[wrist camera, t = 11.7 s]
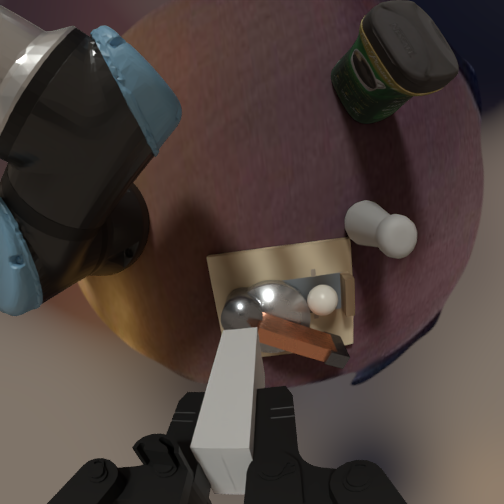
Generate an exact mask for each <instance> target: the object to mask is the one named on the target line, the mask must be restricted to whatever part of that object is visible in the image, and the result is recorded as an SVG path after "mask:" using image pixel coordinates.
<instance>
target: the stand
mask: <svg viewBox="0 0 504 504" xmlns="http://www.w3.org/2000/svg"><path fill="white" fill-rule="evenodd" d="M206 258H207V263H208V268H209V274H210V279H211V284H212V289H213V294H214V299H215V304H216V309H217V314H218V319H219V324H220V328H221V333H222V332H223V330H224V329H223V327H222V324H221V314H222V311H223V308H224V305H225V302H226V299H227V297H228V295H229V294H230V292H232V291H233V290H234V289H236V288H240V287H248V288H249V287H250V286H252V285H254V284H256V283H258V282H261V281H265V280H280V281H284V282H287V283H289V284H291V285H293V286H295V287H296V288H297V289H298V290H299V291H300V292H301V293H302V294H303V295H304V297H305V299H306V301H307V297H308V294H309V292H310V291H311V290H312V289H313V288H314V287H316V286H318V285H328V286H330V287H332V288H333V289H334V290H335V291H336V293H337V296H338V304H337V307H336V308H335V310H334V311H333V312H332V313H330V314H328V315H325V316H320V315H316V314H314V313H313V312H312V311H311V310H310V309H309V310H310V315H311V321H310V326H309V328H312V329H315V330H318V331H321V332H324V331H325V332H329V333H332V334H335V335H338V336H340V337H341V339H342V341H343V343H344V345H349V344H353V316H354V315H355V287H354V277H353V276H352V259H351V243H350V238H348V237H345V238H337V239H329V240H321V241H314V242H306V243H298V244H290V245H283V246H275V247H267V248H260V249H252V250H244V251H237V252H229V253H222V254H214V255H208V256H207V257H206ZM307 304H308V303H307ZM291 353H292V352H289V351H283V352H278V353H265V352H261V355H262V357H265V356H274V355H283V354H291Z"/></svg>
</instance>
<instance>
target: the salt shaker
mask: <svg viewBox="0 0 504 504" xmlns="http://www.w3.org/2000/svg"><path fill="white" fill-rule="evenodd" d="M345 230H346V232H347V234H348V236H349V238H350V239H351V240H353V241H354V242H355V243H356V244H359V245H365V246H373V247H379V249H380V250H381V251H382V252H383V253H384V254H385V255H386V256H388V257H392V258H398V259H400V258H403V257H406V256H408V255H409V254H410V253H411V252H412V251H413V249H414V247H415V245H416V243H417V230H416V227H415V225H414V223H413V222H412V221H411V220H410V219H409V218H407V217H406V216H403V215H399V214H393V215H390V214H389V213H387V212H386V211H385V210H384V209H382V208H381V207H380V206H379V205H378V204H376V203H375V202H372V201H368V200H364V201H361V202H358V203H355V204H354V205H353V206H352V207H351V208H349V209H348V212H347V214H346V217H345Z"/></svg>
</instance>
